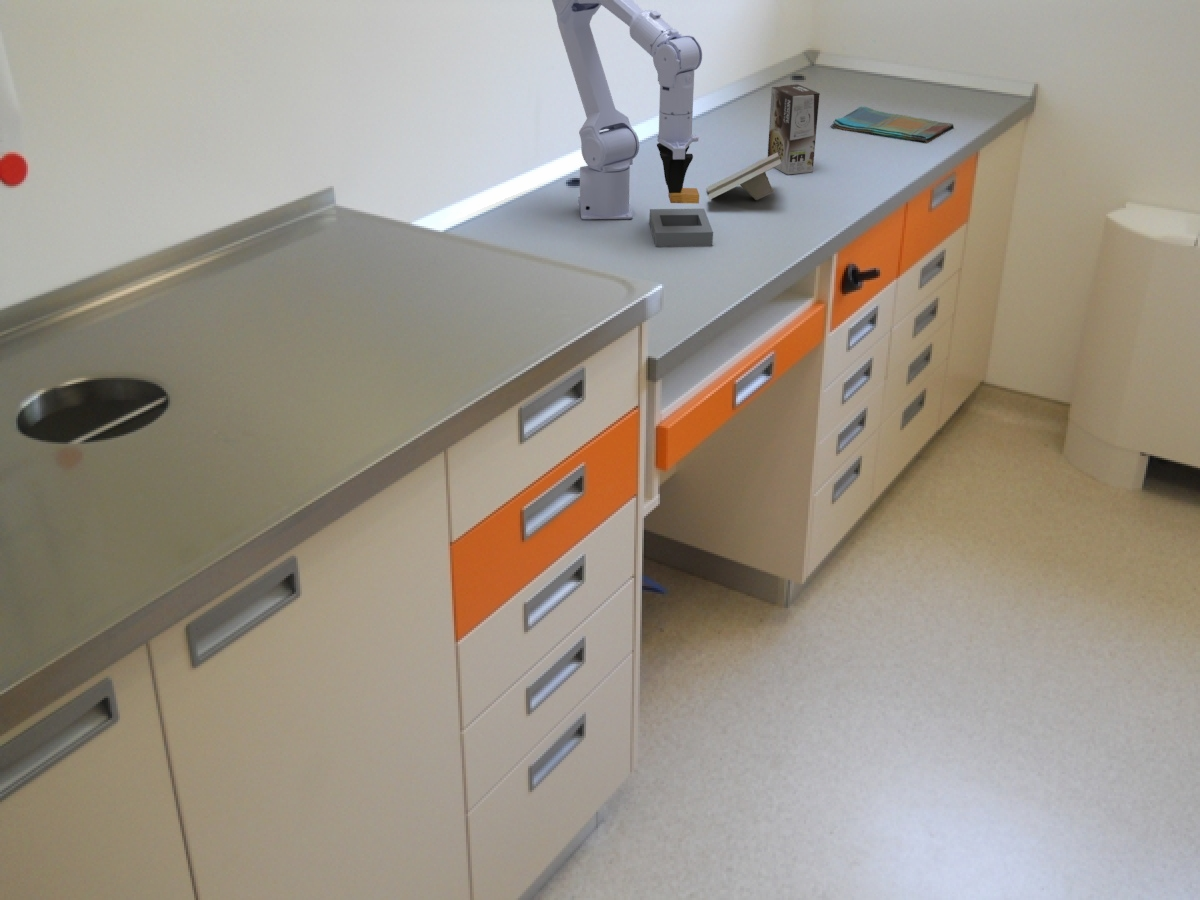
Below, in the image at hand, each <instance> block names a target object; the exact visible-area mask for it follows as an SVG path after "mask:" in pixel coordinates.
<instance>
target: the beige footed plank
mask: <svg viewBox="0 0 1200 900" xmlns="http://www.w3.org/2000/svg"><path fill="white" fill-rule="evenodd" d="M780 164H782V163H781V159H780V158H779V155H778V152H777V153H775V154H773V155H771V156H769V157H768V156H766V157H764V158H763V159H760V160H759V161H756V162H755V163H753V164H751V165H748V166H746V167H745V168H743V169H742V170H739V171H736V172H735V173H733V174H731V175H728V176H726V177H725V178H723V179H721V180H719V181H717V182H715V183H712V184H710V185H709V186H707V187H706V191H707V193H708V194H707V198H708V201H711V200H712V199H714V198H716V197H718V196H720V195H722V194H724V193H727V192H729V191H731V190H733V189H735V188H736V187H738V186H740V187H741V188H742V189H743V190H745V191H746V192H747V193H748V194H749V195H750V196H751V197H752V198H753V199H754V200H756V201H758V200H761V199H762V198H764V197H767V196H769V195H771V194H772V193H774V189H773V187H772V186H771V183H770V181H769V178H768V176H767V174H766V173H767V172H768V171H770V170H773V169H774V167H776V166H778V165H780Z"/></svg>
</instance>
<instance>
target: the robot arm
mask: <svg viewBox="0 0 1200 900" xmlns="http://www.w3.org/2000/svg"><path fill="white" fill-rule="evenodd" d="M551 1H552V5H553V9H554V11H555V15H556V20H557V21H556V22H557V27H558V29H559V30H558V31H559V33H560V36H561V39H562V42H563V46H564V49H565V52H566V55H567V58H568V61H569V64H570V65H569V66H570V67H571V72H572V74H573V78H574V81H575V84H576V87H577V90H578V93H579V97H580V102H581V103H582V107H583V109H584V113H585V116H586V119H585V122H584V123H583V124H582V126H581V128H580V129H579V131H578V134H579V138H580V143H581V155H582V159H583V160H584V163H585V164H586V165H587V166H586V165H585V166H580V167H579V196H578V200H577V201H578V202H577V203H578V207H579V211H580V219H582V220H628V219H629V220H631V219H633V211H632V208H631V204H630V176H631V175H630V173H631V171H630V170H631V165H632V166H633V160H634V159H635V158H636V157H637V156H638V153H639V151H640V140H639V136H638V135H637V132H636V131H635V130H634V128H633V127H632V125H631V123H630V120H629V117H628V116H627V115H625V114H624V113H622V112H621V111H619V110H617V109H616V105H615V104H614V103H615V102H614V101H613V97H612V93H611V90H610V86H609V83H608V80H607V77H606V74H605V71H604V67H603V65H602V60H601V58H600V54H599V51H598V48H597V45H596V41H595V38H594V35H593V31H592V28H591V24H590V23H591V20H592V19H593V17H594V15H596V13H597V12H598V11H599V9H600V8H601V6H602V7H604V8H605V9H606V10H608V11H609V13H611V14H613V15H614V16H615V17H616V18H618V19H619V20H620V21H622V22H623V23H624V24H626V25H627V27H629V36H630V38H631V39H632V40H633V41H634V42H635V43H636V44H637V45H638V46H640V47H641V48H642V49H643V50H644V51H645V52H646V53H647V54H649V56H651V57H652V60H653V65H654V68H655V70H656V72H657V82H658V84H659V106H658V107H659V110H658V111H659V112H658V114H659V115H658V116H659V117H658V135H657V137H656V138H657V139H656V141H657V142H658V143H656V147H657V150H658V151H659V156H660V159H661V161H662V165H663V173H664V181H665V184H666V186H667V190H668V194H669V193H681V190H682V187H683V188H684V182H685V179H686V178H685V177H686V174H687V171H688V169H689V166H690V165H691V163H692V161H693V159H694V155H693V153H687V152H688V150H689V149H690V145H691V144H692V143H696V142H699V135H698V134H692V132H693V115H694V113H693V112H694V110H693V107H694V89H695V86H694V85H695V71H696V70H697V69H698V68H700V66H701V64H702V61H703V51H702V46H701V45H700V43H699V42H698V40H697V39H696V38H695V36H693V35H690V34H687V35H683V34H682V33H679V31H678V30H677V29H676V28H673V26H671V25H670V24H669V23H668V22H666V21H665V20H664V19H663V18H662V17H661V15H662V14H661V13H660V12H659V11H658V10H653V9H645V10H643V9H642V8H641V7H640V6H639V5H638V3H636V2H635V1H634V0H551Z"/></svg>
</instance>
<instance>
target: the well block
mask: <svg viewBox="0 0 1200 900" xmlns="http://www.w3.org/2000/svg"><path fill="white" fill-rule="evenodd" d="M648 221H649V226H650V230H651V234H652V237H653V241H654V246H655V247H656V248H657V247H662V248H663V247H713V243H714V241H713V239H714V231H713V229H712V226H711V223H710V220H709V217H708V215H707V213H706V210H705V208H649V220H648Z"/></svg>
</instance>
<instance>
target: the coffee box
mask: <svg viewBox="0 0 1200 900" xmlns="http://www.w3.org/2000/svg"><path fill="white" fill-rule="evenodd" d="M770 95H771V96H770V110H769V112H770V113H769V126H768V127H769V128H768V129H769V130H768V141H767V143H768V144H767V157H769V156H771V155H773V154H775V153H777V152H778V155H779V158H780V159H781V163H782V164H780V165H778V166H776V167H774V168H775V169H776V170H778V171H780V172H782V173H783V174H786V175H789V176H790V175H796V174H807V173H813V171H814V162H815V161H814V160H815V151H816V137H817V127H818V117H819V103H820V95H821V93H820V92H817V91H815V90H812V89H810V88H808V87H805V86H804V85H800V84H797V83H795V84H787V85H786V84H785V85H780V86H772V87H771V94H770ZM774 168H773V169H774Z"/></svg>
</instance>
